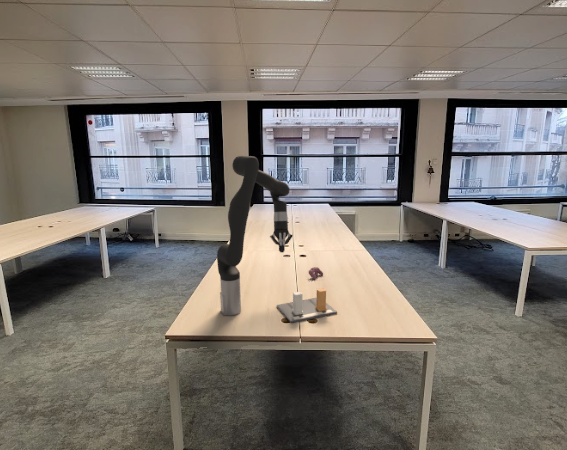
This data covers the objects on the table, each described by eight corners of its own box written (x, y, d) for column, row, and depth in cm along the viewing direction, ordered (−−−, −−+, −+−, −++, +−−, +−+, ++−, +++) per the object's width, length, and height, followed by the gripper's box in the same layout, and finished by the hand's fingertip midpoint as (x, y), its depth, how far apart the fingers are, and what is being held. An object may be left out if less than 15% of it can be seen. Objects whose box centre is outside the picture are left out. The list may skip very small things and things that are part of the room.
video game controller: (318, 276, 209) (314, 266, 210) (324, 274, 206) (320, 264, 207) (310, 281, 202) (306, 270, 202) (315, 279, 199) (311, 268, 199)
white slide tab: (295, 315, 152) (295, 295, 150) (291, 311, 156) (291, 292, 154) (303, 313, 154) (303, 294, 152) (299, 309, 157) (299, 290, 156)
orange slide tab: (319, 311, 156) (319, 292, 154) (315, 307, 160) (315, 289, 158) (326, 310, 157) (327, 291, 155) (322, 306, 161) (322, 287, 159)
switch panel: (291, 323, 147) (291, 320, 147) (276, 306, 164) (276, 304, 163) (337, 313, 156) (337, 311, 156) (319, 298, 173) (319, 296, 172)
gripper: (271, 220, 172) (272, 253, 172) (294, 219, 176) (295, 252, 176) (267, 221, 179) (268, 252, 179) (289, 220, 183) (290, 251, 183)
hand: (281, 252), depth 177 cm, fingers closed
